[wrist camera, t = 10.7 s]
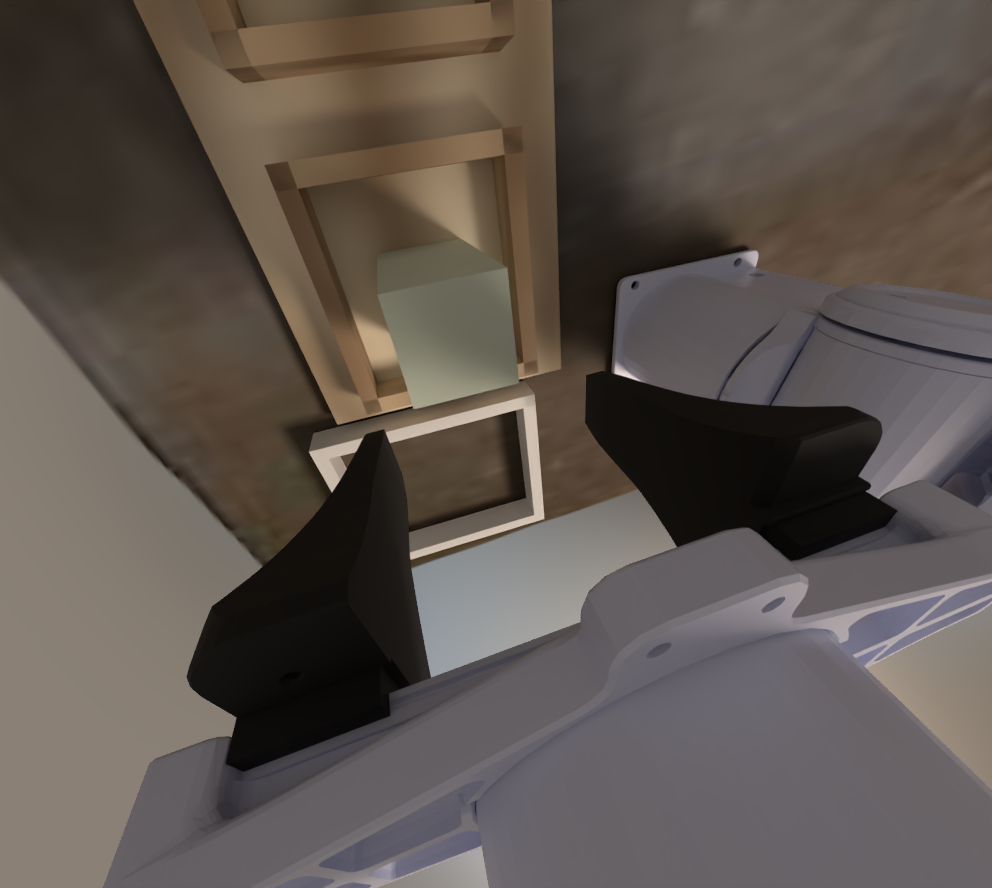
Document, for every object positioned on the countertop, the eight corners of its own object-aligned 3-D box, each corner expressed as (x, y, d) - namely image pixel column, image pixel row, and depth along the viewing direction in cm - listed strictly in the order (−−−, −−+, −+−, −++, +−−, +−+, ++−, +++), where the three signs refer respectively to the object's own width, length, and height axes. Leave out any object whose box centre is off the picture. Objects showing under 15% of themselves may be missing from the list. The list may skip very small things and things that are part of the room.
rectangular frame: (524, 380, 24) (534, 394, 22) (535, 501, 31) (544, 518, 29) (313, 433, 22) (308, 451, 21) (376, 549, 29) (376, 570, 28)
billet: (460, 237, 17) (507, 267, 11) (474, 320, 20) (519, 383, 14) (377, 254, 17) (377, 294, 11) (401, 336, 19) (414, 409, 13)
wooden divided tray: (515, -701, 8) (572, -1060, 6) (554, 362, 24) (574, 382, 22) (-244, -821, 6) (-608, -1413, 4) (338, 416, 22) (334, 443, 20)
